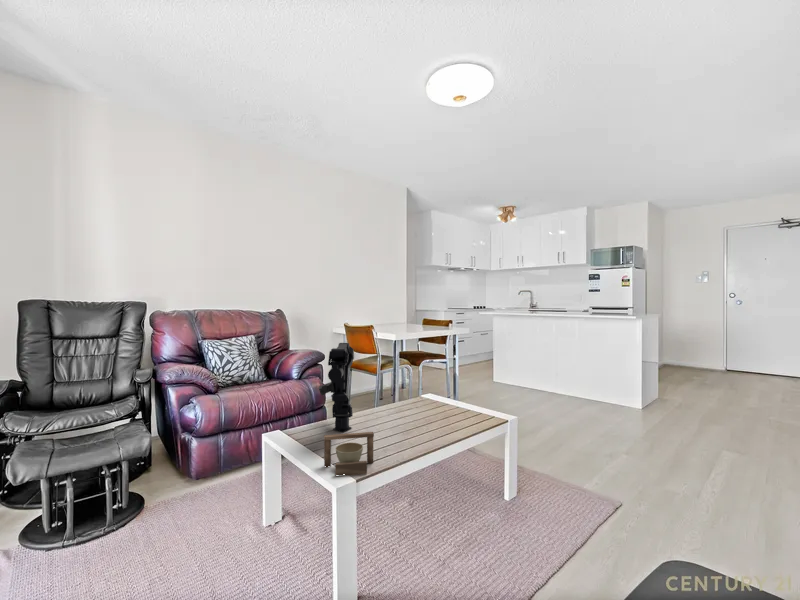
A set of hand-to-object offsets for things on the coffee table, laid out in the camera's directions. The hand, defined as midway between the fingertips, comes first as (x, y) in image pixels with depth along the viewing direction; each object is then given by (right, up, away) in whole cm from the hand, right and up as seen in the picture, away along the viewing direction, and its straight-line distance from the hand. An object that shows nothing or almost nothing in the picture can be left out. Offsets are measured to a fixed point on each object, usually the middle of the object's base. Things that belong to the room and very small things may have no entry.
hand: (338, 412), depth 171 cm
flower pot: (+8, -12, -27) cm, 31 cm away
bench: (+9, -12, -29) cm, 33 cm away
